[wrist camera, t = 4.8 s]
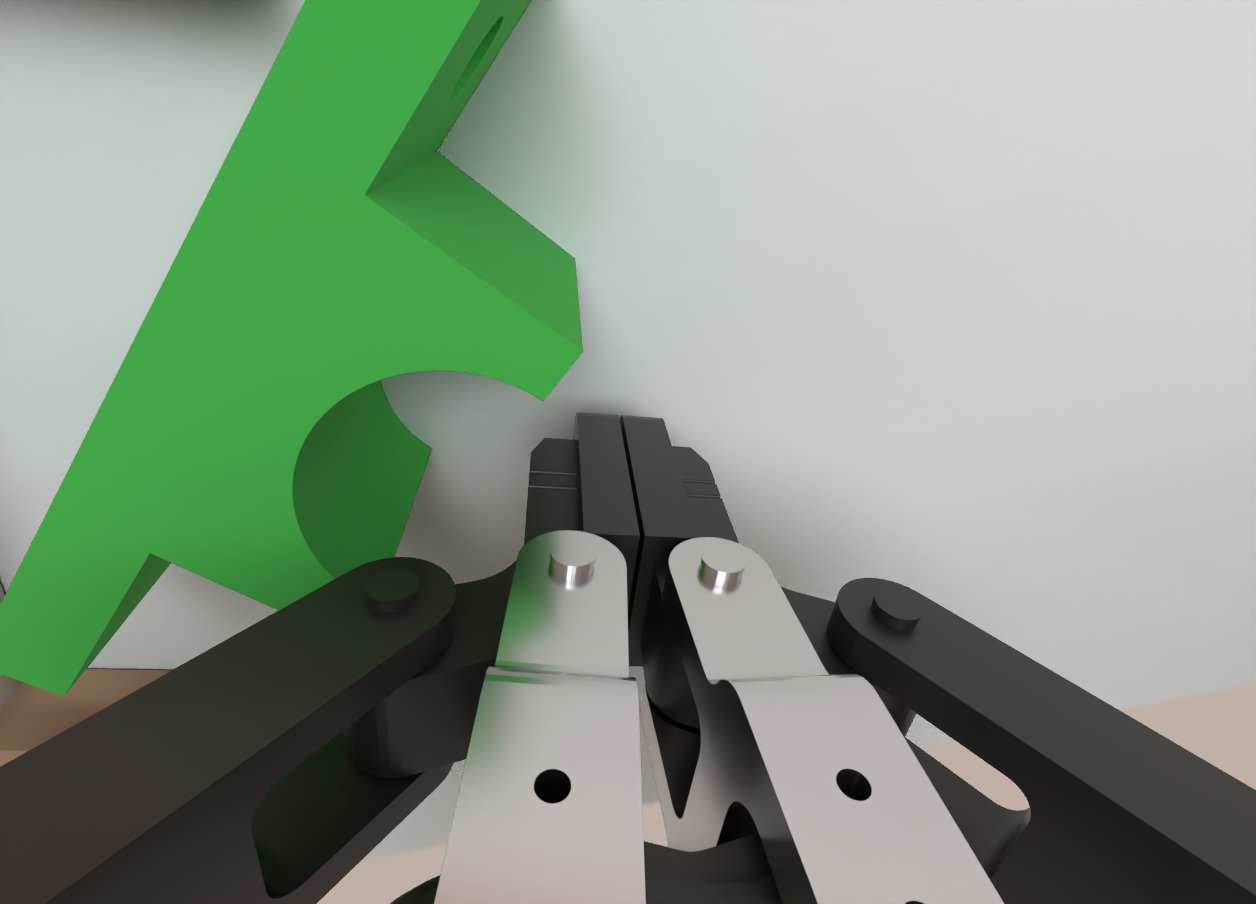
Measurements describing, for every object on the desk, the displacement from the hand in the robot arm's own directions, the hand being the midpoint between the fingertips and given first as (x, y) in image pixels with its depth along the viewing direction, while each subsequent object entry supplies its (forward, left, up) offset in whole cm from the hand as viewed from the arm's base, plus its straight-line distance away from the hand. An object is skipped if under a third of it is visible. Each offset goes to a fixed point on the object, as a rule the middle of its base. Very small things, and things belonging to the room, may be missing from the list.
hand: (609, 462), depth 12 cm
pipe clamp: (+4, -2, -1) cm, 5 cm away
